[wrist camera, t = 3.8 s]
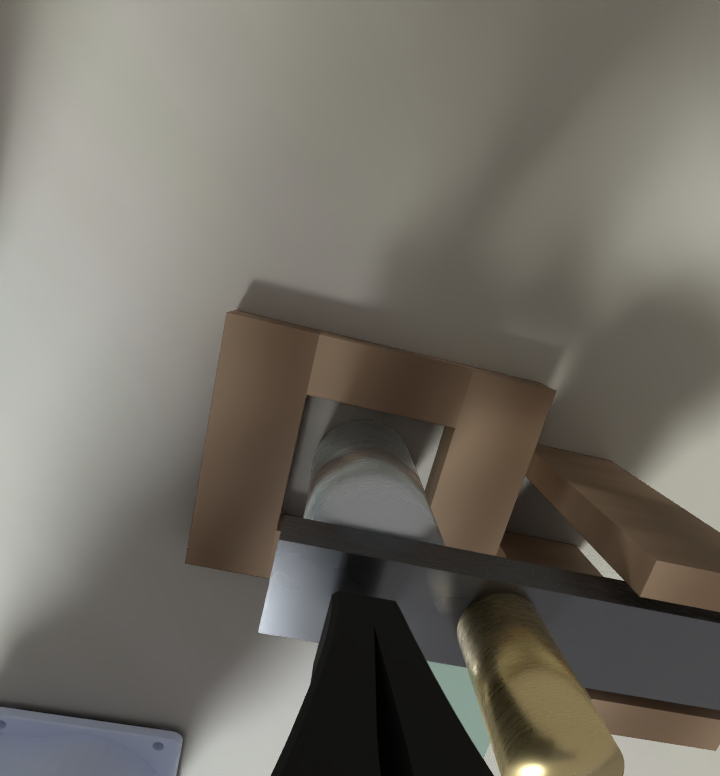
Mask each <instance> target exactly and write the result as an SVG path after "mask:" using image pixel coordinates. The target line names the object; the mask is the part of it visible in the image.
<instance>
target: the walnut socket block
mask: <svg viewBox="0 0 720 776" xmlns="http://www.w3.org/2000/svg"><path fill="white" fill-rule="evenodd" d="M555 393H556V391H555V390H553V389H551V388H549V387H547V386H545V385H543V384H541V383H537V382H533V381H529V380H525V379H521V378H516V377H512V376H508V375H504V374H500V373H496V372H491V371H487V370H483V369H479V368H475V367H470V366H466V365H462V364H458V363H454V362H450V361H445V360H441V359H437V358H433V357H429V356H425V355H420V354H416V353H412V352H408V351H404V350H400V349H395V348H391V347H387V346H383V345H379V344H374V343H370V342H366V341H362V340H358V339H354V338H349V337H345V336H341V335H337V334H333V333H329V332H324V331H320V330H316V329H312V328H308V327H304V326H299V325H295V324H291V323H287V322H283V321H278V320H274V319H270V318H266V317H262V316H258V315H253V314H249V313H245V312H241V311H237V310H235V311H230V312H227V314H226V320H225V326H224V332H223V338H222V344H221V350H220V356H219V362H218V368H217V374H216V380H215V386H214V392H213V398H212V404H211V410H210V416H209V422H208V428H207V434H206V440H205V446H204V452H203V458H202V464H201V470H200V476H199V482H198V488H197V494H196V500H195V506H194V513H193V519H192V525H191V531H190V537H189V543H188V549H187V555H186V561H185V564H191V565H196V566H202V567H207V568H213V569H218V570H224V571H229V572H235V573H240V574H246V575H251V576H257V577H263V578H268V579H270V577H271V572H272V568H273V563H274V559H275V554H276V550H277V546H278V541H279V537H280V533H281V529H282V525H283V522H284V518H285V514H281V512H282V507H283V503H284V498H285V493H286V489H287V484H288V480H289V475H290V471H291V466H292V462H293V457H294V453H295V448H296V444H297V439H298V435H299V430H300V426H301V421H302V417H303V412H304V408H305V403H306V399H307V395H310V396H315V397H319V398H324V399H328V400H333V401H337V402H342V403H346V404H350V405H355V406H359V407H364V408H368V409H373V410H377V411H382V412H386V413H391V414H395V415H400V416H404V417H408V418H413V419H417V420H422V421H426V422H431V423H435V424H440V425H444V426H445V428H444V431H443V434H442V437H441V441H440V444H439V447H438V450H437V454H436V457H435V460H434V463H433V466H432V470H431V473H430V476H429V479H428V483H427V486H426V489H425V494H426V496H427V499H428V502H429V504H430V507H431V509H432V512H433V515H434V517H435V520H436V522H437V525H438V528H439V530H440V533H441V535H442V538H443V541H444V544H445V546H448V547H453V548H458V549H463V550H468V551H473V552H479V553H484V554H489V555H494V556H499V557H504V558H509V559H514V560H519V561H524V562H530V563H535V564H540V565H545V566H550V567H555V568H560V569H565V570H570V571H575V572H581V573H586V574H591V575H596V576H601V577H603V576H602V575H601V574H600V572H599V571H598V570H597V569H596V568H595V567H594V566H593V565H592V563H591V562H590V561H589V560H588V559H587V558H586V557H585V556H584V554H583V553H582V552H581V551H580V550H579V549H578V548H577V547H576V545H571V544H566V543H561V542H556V541H551V540H546V539H541V538H536V537H531V536H526V535H521V534H516V533H511V532H507V531H505V529H506V527H507V524H508V521H509V519H510V516H511V513H512V510H513V508H514V505H515V502H516V499H517V497H518V494H519V491H520V489H521V486H522V483H523V480H524V478H525V476H526V477H527V478H528V479H529V480H530V482H531V483H532V484H533V485H534V486H535V487H536V488H537V489H538V490H539V491H540V492H541V493H542V494H543V495H544V496H545V497H546V498H547V499H548V500H549V502H550V503H551V504H552V505H553V506H554V507H555V508H556V509H557V510H558V511H559V512H560V513H561V514H562V515H563V516H564V517H565V518H566V519H567V521H568V522H569V523H570V524H571V525H572V526H573V527H574V528H575V529H576V530H577V531H578V532H579V533H580V534H581V535H582V536H583V537H584V538H585V540H586V541H587V542H588V543H589V544H590V545H591V546H592V547H593V548H594V549H595V550H596V551H597V552H598V553H599V554H600V555H601V556H602V557H603V558H604V560H605V561H606V562H607V563H608V564H609V565H610V566H611V567H612V568H613V569H614V570H615V571H616V572H617V573H618V574H619V575H620V576H621V577H622V579H623V580H624V581H625V582H626V583H627V584H628V585H629V586H630V587H631V588H632V589H633V590H634V591H635V592H636V593H637V594H638V595H639V596H640V597H644V598H649V599H654V600H660V601H665V602H670V603H675V604H680V605H685V606H691V607H696V608H701V609H706V610H711V611H717V612H720V532H718V531H717V530H715V529H714V528H712V527H711V526H709V525H707V524H706V523H704V522H703V521H701V520H700V519H698V518H697V517H695V516H694V515H692V514H691V513H689V512H688V511H686V510H685V509H683V508H682V507H680V506H679V505H677V504H676V503H674V502H673V501H671V500H670V499H668V498H666V497H665V496H663V495H662V494H660V493H659V492H657V491H656V490H654V489H653V488H651V487H650V486H648V485H647V484H645V483H644V482H642V481H641V480H639V479H638V478H636V477H635V476H633V475H632V474H630V473H629V472H627V471H625V470H624V469H622V468H621V467H619V466H618V465H616V464H615V463H613V462H612V461H609V460H605V459H601V458H596V457H592V456H587V455H583V454H578V453H574V452H569V451H565V450H561V449H556V448H552V447H547V446H543V445H538V444H537V442H538V440H539V437H540V434H541V431H542V429H543V426H544V423H545V420H546V418H547V415H548V412H549V410H550V407H551V404H552V401H553V399H554V396H555ZM583 688H584V687H583ZM584 690H585V692H586V694H587V695H588V697H589V699H590V700H591V702H592V704H593V705H594V707H595V709H596V710H597V712H598V714H599V715H600V717H601V719H602V721H603V722H604V724H605V726H606V727H607V729H608V731H609V732H610V734H613V735H619V736H626V737H632V738H638V739H645V740H651V741H657V742H664V743H670V744H676V745H683V746H689V747H695V748H702V749H708V750H714V751H716V750H717V748H718V746H719V744H720V710H714V709H709V708H703V707H697V706H691V705H685V704H679V703H673V702H667V701H661V700H655V699H649V698H643V697H637V696H631V695H625V694H619V693H613V692H608V691H602V690H596V689H590V688H584Z"/></svg>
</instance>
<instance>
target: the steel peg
mask: <svg viewBox="0 0 720 776" xmlns="http://www.w3.org/2000/svg"><path fill="white" fill-rule="evenodd" d="M303 518H305V519H310V520H315V521H320V522H326V523H331V524H336V525H341V526H346V527H351V528H356V529H361V530H366V531H371V532H377V533H382V534H387V535H392V536H397V537H402V538H407V539H412V540H417V541H422V542H428V543H433V544H438V545H443V546H445V544H444V541H443V538H442V535H441V533H440V530H439V528H438V525H437V522H436V520H435V517H434V515H433V512H432V509H431V507H430V504H429V502H428V499H427V496H426V494H425V491H424V489H423V486H422V484H421V481H420V478H419V476H418V473H417V471H416V468H415V465H414V463H413V460H412V458H411V455H410V452H409V450H408V447H407V445H406V444H405V442H404V440H403V439H402V438H401V436H400V435H399V434H398V433H397V432H395V431H394V430H393V429H392V428H390V427H388V426H387V425H384V424H382V423H379V422H376V421H371V420H355V421H350V422H347V423H344V424H341V425H339V426H337V427H336V428H334V429H333V430H331V431H330V432H329V433H328V434H327V435H326V436H325V437H324V438H323V439H322V441H321V442H320V444H319V445H318V447H317V449H316V452H315V455H314V460H313V466H312V471H311V477H310V483H309V488H308V494H307V499H306V505H305V510H304V516H303Z"/></svg>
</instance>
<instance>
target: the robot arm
mask: <svg viewBox="0 0 720 776" xmlns="http://www.w3.org/2000/svg"><path fill="white" fill-rule="evenodd" d="M182 743H183V738H182V737H181V735H180V734H179V733H177V732H173V731H166V730H159V729H153V728H146V727H139V726H132V725H125V724H118V723H111V722H104V721H97V720H90V719H83V718H76V717H69V716H62V715H55V714H48V713H41V712H34V711H27V710H20V709H13V708H6V707H0V776H176V775H177V770H178V764H179V759H180V754H181V748H182ZM271 776H494V775H493V774H492V772H491V770H490V769H489V767H488V766H487V764H486V763H485V761H484V759H483V758H482V756H481V754H480V753H479V751H478V750H477V748H476V746H475V745H474V743H473V742H472V740H471V738H470V737H469V735H468V733H467V732H466V730H465V728H464V727H463V725H462V723H461V722H460V720H459V718H458V717H457V715H456V713H455V711H454V710H453V708H452V706H451V704H450V702H449V701H448V699H447V697H446V695H445V694H444V692H443V690H442V688H441V686H440V685H439V683H438V681H437V679H436V678H435V676H434V674H433V672H432V670H431V668H430V666H429V665H428V663H427V661H426V659H425V657H424V655H423V653H422V651H421V649H420V647H419V645H418V643H417V641H416V639H415V637H414V636H413V634H412V632H411V630H410V628H409V626H408V624H407V622H406V619H405V617H404V615H403V613H402V611H401V609H400V607H399V606H398V604H397V602H396V601H393V600H387V599H382V598H376V597H370V596H365V595H359V594H354V593H348V592H342V591H337V592H335V593H334V594H332V596H331V599H330V603H329V607H328V611H327V615H326V618H325V622H324V626H323V630H322V634H321V637H320V641H319V645H318V649H317V653H316V656H315V660H314V664H313V671H312V678H311V684H310V686H309V689H308V692H307V694H306V696H305V699H304V701H303V704H302V706H301V708H300V711H299V713H298V716H297V718H296V721H295V723H294V725H293V728H292V730H291V733H290V735H289V737H288V739H287V742H286V744H285V746H284V748H283V750H282V753H281V755H280V757H279V759H278V761H277V763H276V766H275V768H274V770H273V772H272V774H271Z"/></svg>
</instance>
